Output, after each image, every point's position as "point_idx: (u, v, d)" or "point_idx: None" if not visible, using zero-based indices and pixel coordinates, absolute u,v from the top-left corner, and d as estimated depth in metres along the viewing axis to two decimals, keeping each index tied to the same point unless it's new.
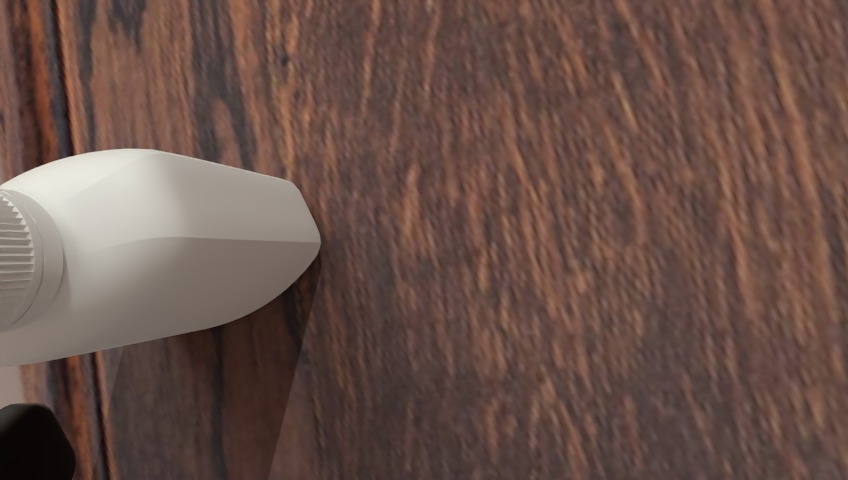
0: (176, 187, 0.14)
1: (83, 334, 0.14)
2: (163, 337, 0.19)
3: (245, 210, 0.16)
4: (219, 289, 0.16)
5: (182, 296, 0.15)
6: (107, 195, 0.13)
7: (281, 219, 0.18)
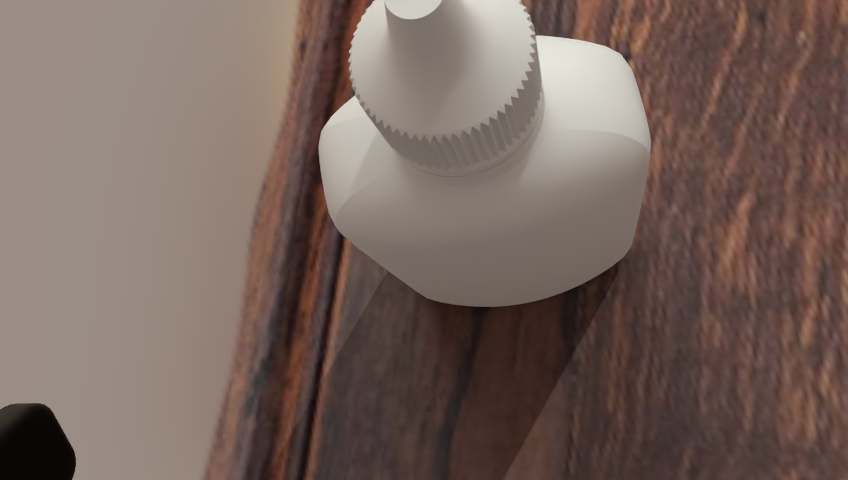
0: (640, 96, 0.12)
1: (504, 223, 0.12)
2: (465, 290, 0.17)
3: None
4: (588, 241, 0.15)
5: (581, 226, 0.13)
6: (587, 75, 0.12)
7: None
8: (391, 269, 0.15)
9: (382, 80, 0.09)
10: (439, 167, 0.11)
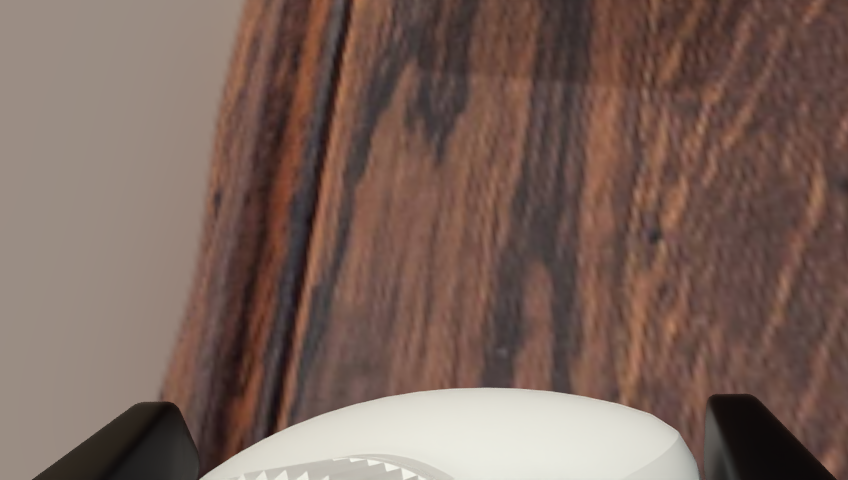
0: None
1: None
2: None
3: None
4: None
5: None
6: None
7: None
8: None
9: None
10: None
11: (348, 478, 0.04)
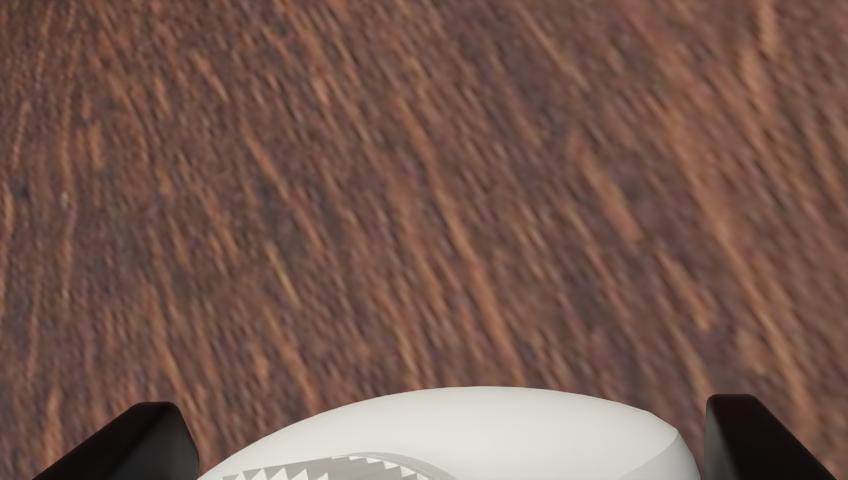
0: None
1: None
2: None
3: None
4: None
5: None
6: None
7: None
8: None
9: None
10: None
11: (347, 476, 0.04)
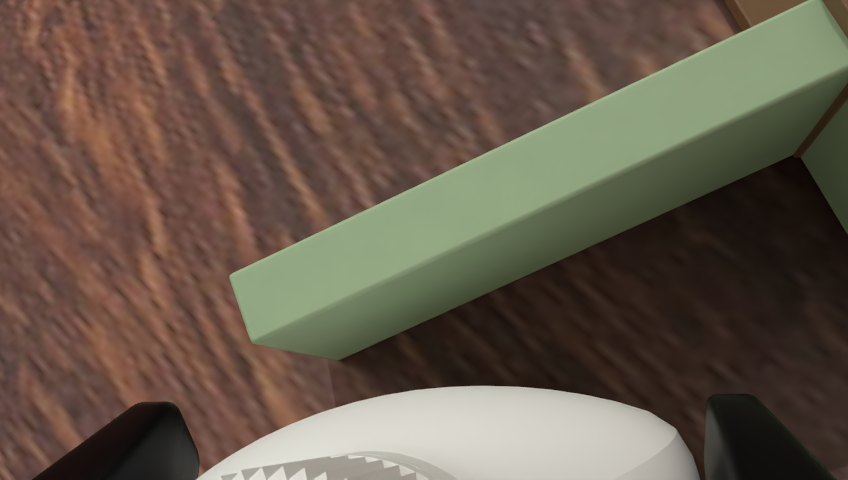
0: None
1: None
2: None
3: None
4: None
5: None
6: None
7: None
8: None
9: None
10: None
11: (346, 475, 0.04)
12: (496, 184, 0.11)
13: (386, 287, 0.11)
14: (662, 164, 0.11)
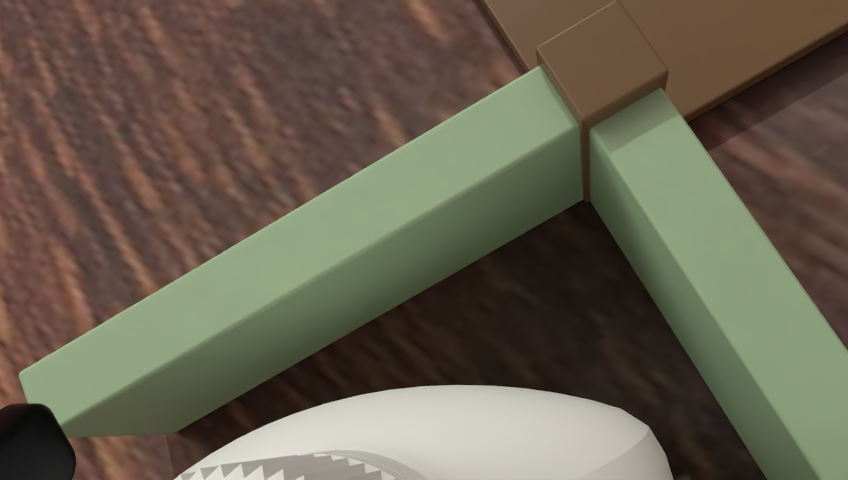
0: None
1: None
2: None
3: None
4: None
5: None
6: None
7: None
8: None
9: None
10: None
11: (305, 473, 0.04)
12: (258, 266, 0.12)
13: (166, 372, 0.12)
14: (416, 233, 0.12)
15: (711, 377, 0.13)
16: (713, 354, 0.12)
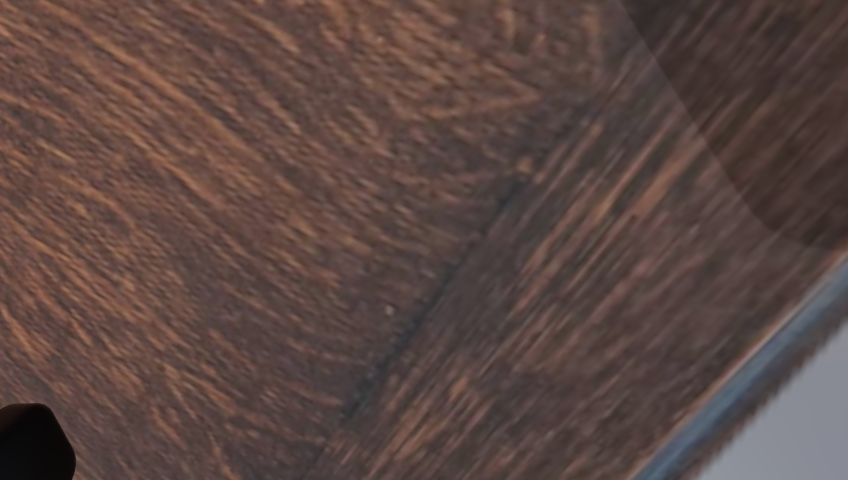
0: None
1: None
2: None
3: None
4: None
5: None
6: None
7: None
8: None
9: None
10: None
11: None
12: None
13: None
14: None
15: None
16: None
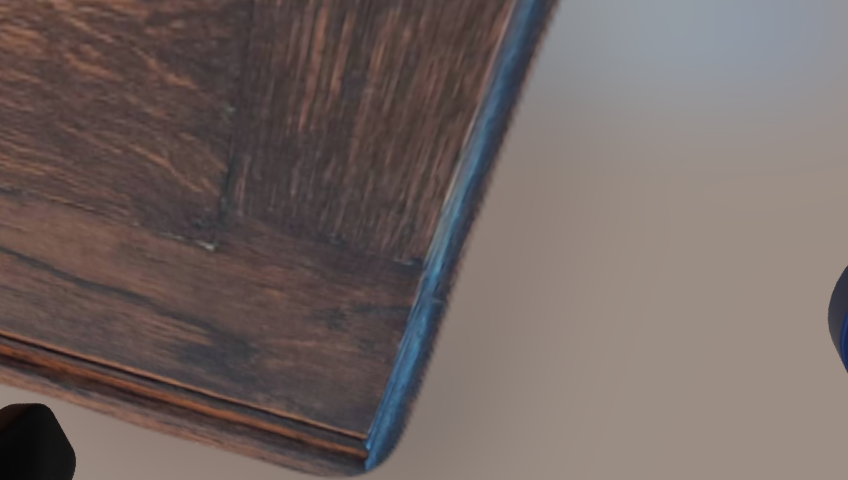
0: None
1: None
2: None
3: None
4: None
5: None
6: None
7: None
8: None
9: None
10: None
11: None
12: None
13: None
14: None
15: None
16: None
